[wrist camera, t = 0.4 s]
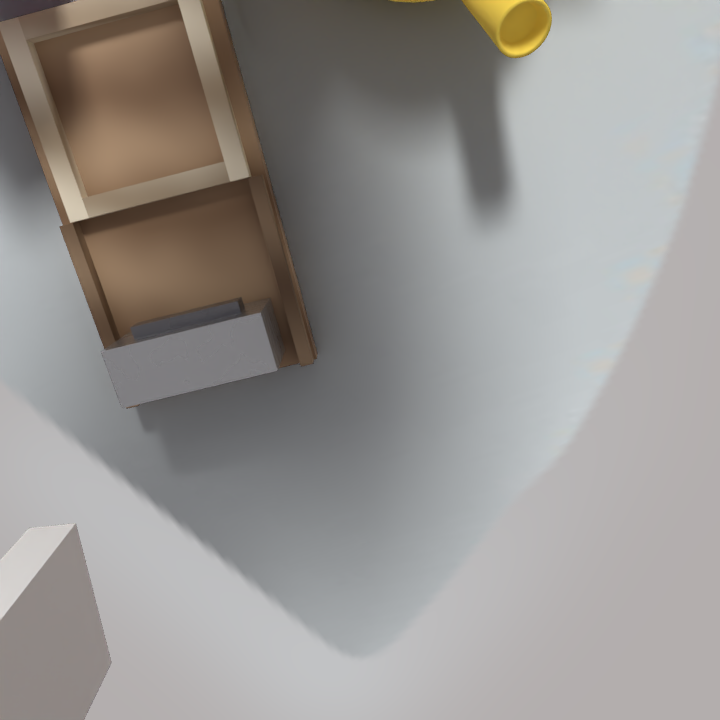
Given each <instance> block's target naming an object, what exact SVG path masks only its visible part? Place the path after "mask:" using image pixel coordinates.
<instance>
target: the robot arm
mask: <svg viewBox="0 0 720 720" xmlns="http://www.w3.org/2000/svg"><path fill="white" fill-rule="evenodd" d="M110 665H111V659H110V655H109V651H108V647H107V643H106V639H105V635H104V632H103V627H102V624H101V619H100V616H99V612H98V608H97V604H96V600H95V597H94V592H93V588H92V584H91V580H90V577H89V573H88V569H87V565H86V561H85V557H84V553H83V549H82V545H81V542H80V538H79V534H78V530H77V526H76V523H73V524H64V525H54V526H44V527H33V528H29V529H28V530H27V531H26V532H25V533H24V534H23V535H22V536H21V537H20V539H19V540H18V541H17V542H16V543H15V544H14V545H13V546H12V548H11V549H10V550H9V551H8V552H7V553H6V554H5V555H4V556H3V558H2V559H1V560H0V720H84V719H85V717H86V714H87V713H88V711H89V708H90V706H91V704H92V702H93V700H94V698H95V696H96V693H97V692H98V690H99V688H100V686H101V684H102V681H103V679H104V677H105V675H106V673H107V671H108V669H109V667H110Z"/></svg>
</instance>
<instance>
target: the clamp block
mask: <svg viewBox="0 0 720 720" xmlns="http://www.w3.org/2000/svg"><path fill="white" fill-rule="evenodd" d="M130 329H131V332H129V333H127V334H126V335H124V336H123V337H122V338H120V339H119V340H117V341H116V342H114V343H113V344H111V345H110V346H109V347H107V348H106V349H104V350H103V351H101V353H102V356H103V358H104V361H105V364H106V366H107V369H108V372H109V375H110V377H111V380H112V383H113V385H114V388H115V391H116V393H117V396H118V399H119V402H120V404H121V407H122V408H126V407H130V406H134V405H138V404H142V403H146V402H150V401H155V400H159V399H163V398H167V397H171V396H175V395H179V394H183V393H188V392H192V391H196V390H200V389H204V388H208V387H212V386H217V385H221V384H225V383H229V382H233V381H237V380H241V379H246V378H250V377H254V376H258V375H262V374H266V373H270V372H275V371H278V368H279V366H280V363H281V360H282V358H283V355H284V352H285V347H284V344H283V340H282V337H281V333H280V330H279V326H278V323H277V319H276V316H275V312H274V309H273V305H272V302H271V298H267V299H263V300H259V301H255V302H251V303H247V304H243V300H242V297H239V298H235V299H231V300H227V301H223V302H219V303H214V304H210V305H206V306H202V307H198V308H194V309H190V310H186V311H182V312H178V313H174V314H170V315H166V316H162V317H158V318H154V319H150V320H146V321H142V322H138V323H136V324H135V325H133V326H132V327H130Z"/></svg>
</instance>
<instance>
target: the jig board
mask: <svg viewBox="0 0 720 720" xmlns="http://www.w3.org/2000/svg"><path fill="white" fill-rule="evenodd" d="M0 55H1V57H2V60H3V63H4V66H5V68H6V71H7V74H8V77H9V79H10V82H11V85H12V87H13V90H14V93H15V96H16V98H17V101H18V104H19V106H20V109H21V112H22V115H23V117H24V120H25V123H26V126H27V128H28V131H29V134H30V136H31V139H32V142H33V145H34V147H35V150H36V153H37V156H38V158H39V161H40V164H41V166H42V169H43V172H44V175H45V177H46V180H47V183H48V186H49V188H50V191H51V194H52V196H53V199H54V202H55V205H56V207H57V210H58V213H59V216H60V218H61V221H62V224H63V226H60V229H61V232H62V235H63V238H64V240H65V243H66V246H67V248H68V251H69V254H70V257H71V259H72V262H73V265H74V267H75V270H76V273H77V276H78V278H79V281H80V284H81V286H82V289H83V292H84V295H85V297H86V300H87V303H88V305H89V308H90V311H91V314H92V316H93V319H94V322H95V324H96V327H97V330H98V333H99V335H100V338H101V341H102V343H103V346H104V349H106V348H107V347H109V346H110V345H111V344H113V343H114V342H116V341H117V340H119V339H120V338H122V337H123V336H124V335H126V334H127V333H129V332H131V329H130V327H132V326H133V325H135V324H136V323H138V322H142V321H146V320H150V319H154V318H158V317H162V316H166V315H170V314H174V313H178V312H182V311H186V310H190V309H194V308H198V307H202V306H206V305H210V304H214V303H219V302H223V301H227V300H231V299H235V298H239V297H242V300H243V304H247V303H251V302H255V301H259V300H263V299H267V298H271V302H272V305H273V309H274V312H275V316H276V319H277V323H278V326H279V330H280V333H281V337H282V340H283V344H284V347H285V352H284V355H283V358H282V360H281V363H280V366H279V368H281V367H286V366H290V365H294V364H298V363H300V365H301V366H305V365H309V364H313V362H314V360H315V359H317V354H318V353H317V350H316V346H315V342H314V339H313V335H312V331H311V328H310V324H309V320H308V317H307V313H306V309H305V306H304V302H303V298H302V295H301V291H300V287H299V284H298V280H297V276H296V273H295V269H294V265H293V262H292V258H291V254H290V251H289V247H288V243H287V240H286V236H285V232H284V229H283V225H282V221H281V218H280V214H279V210H278V207H277V203H276V199H275V196H274V192H273V188H272V185H271V181H270V177H269V174H268V170H267V166H266V163H265V159H264V155H263V152H262V148H261V144H260V141H259V137H258V133H257V130H256V126H255V123H254V119H253V115H252V112H251V108H250V104H249V101H248V97H247V93H246V90H245V86H244V82H243V79H242V75H241V71H240V68H239V64H238V60H237V57H236V53H235V49H234V46H233V42H232V38H231V35H230V31H229V27H228V24H227V20H226V16H225V13H224V9H223V5H222V2H221V0H78V1H74V2H71V3H67V4H63V5H60V6H56V7H52V8H49V9H45V10H42V11H38V12H34V13H31V14H27V15H23V16H20V17H16V18H12V19H9V20H5V21H1V22H0ZM139 405H140V404H138V405H134V406H130V407H126V409H127V408H131V407H135V406H139Z"/></svg>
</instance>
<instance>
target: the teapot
mask: <svg viewBox="0 0 720 720" xmlns="http://www.w3.org/2000/svg"><path fill="white" fill-rule="evenodd" d="M390 1H396V2H413V3H414V2H425V1H434V0H390ZM461 1H462V2H463V3H464V5H465V6H466V7H467V9H468V10H469V11H470V12H471V14H472V15H473V16H474V18H475V19H476V20H477V21H478V23H479V24H480V25H481V27H482V28H483V29H484V30H485V32H486V33H487V34H488V36H489V37H490V38H491V39H492V41H493V42H494V43H495V45H496V46H497V47H498V49H499V50H500V51H501V52H502V53H503V54H504V55H505V56H508V57H510V58H520V57H524V56H527V55H529V54H531V53H532V52H534V51H535V50H536V49H537V48H538V47H539V46H540V45H541V44H542V43H543V42H544V40H545V39H546V37H547V35H548V33H549V31H550V27H551V22H552V16H551V11H550V8H549V7H548V5H547V4H546V3H545V2H544V0H461Z"/></svg>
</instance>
